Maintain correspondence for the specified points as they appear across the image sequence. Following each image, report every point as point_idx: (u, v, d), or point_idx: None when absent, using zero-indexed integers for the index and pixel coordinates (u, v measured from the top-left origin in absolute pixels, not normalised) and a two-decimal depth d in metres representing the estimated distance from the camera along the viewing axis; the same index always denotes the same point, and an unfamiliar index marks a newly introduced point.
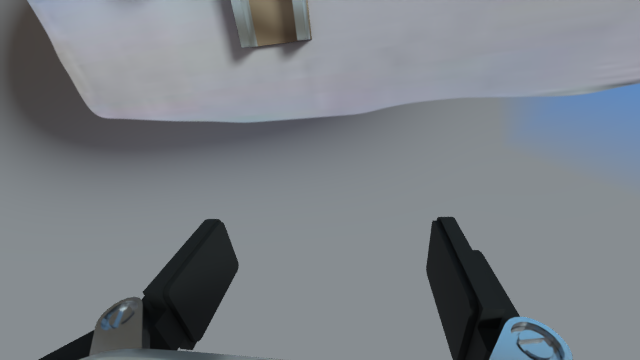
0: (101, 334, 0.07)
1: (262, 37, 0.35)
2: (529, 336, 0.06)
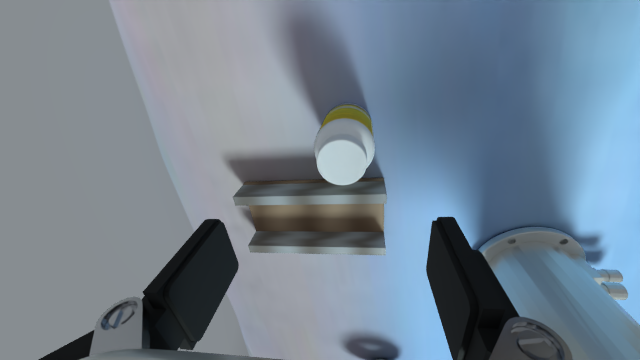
0: (101, 334, 0.07)
1: None
2: (529, 336, 0.06)
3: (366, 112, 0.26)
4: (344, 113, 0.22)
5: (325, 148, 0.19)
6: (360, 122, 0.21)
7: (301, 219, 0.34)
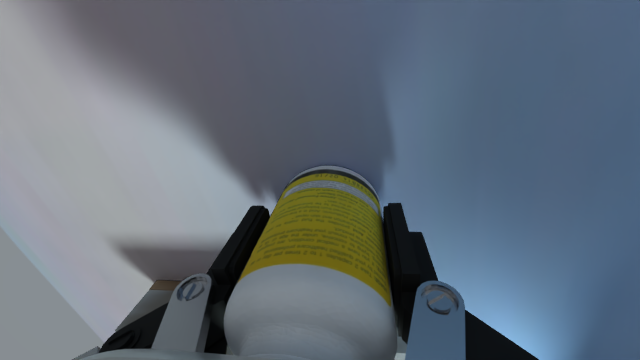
0: (180, 304, 0.08)
1: None
2: (434, 295, 0.07)
3: (369, 189, 0.12)
4: (311, 224, 0.08)
5: None
6: (354, 275, 0.07)
7: None
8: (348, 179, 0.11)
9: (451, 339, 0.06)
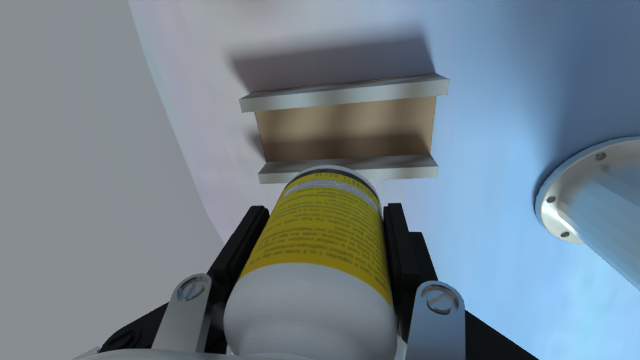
0: (180, 304, 0.08)
1: (264, 113, 0.26)
2: (434, 295, 0.07)
3: (369, 188, 0.11)
4: (311, 222, 0.08)
5: None
6: (354, 274, 0.07)
7: (324, 141, 0.27)
8: (348, 178, 0.11)
9: (451, 339, 0.06)
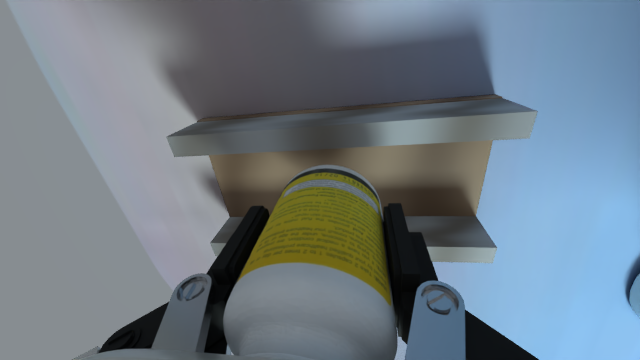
0: (180, 304, 0.08)
1: None
2: (434, 295, 0.07)
3: (369, 188, 0.11)
4: (311, 222, 0.08)
5: None
6: (354, 274, 0.07)
7: None
8: (348, 178, 0.11)
9: (451, 339, 0.06)
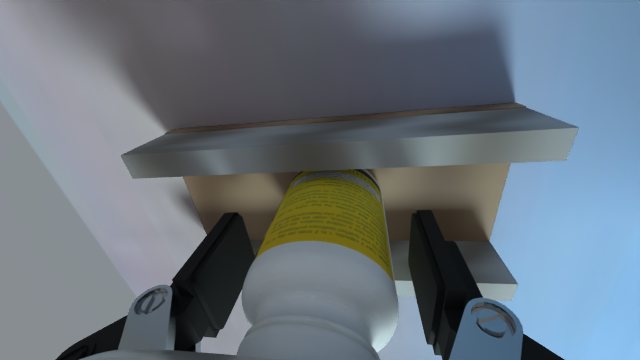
0: (136, 318, 0.07)
1: None
2: (486, 315, 0.06)
3: (372, 180, 0.12)
4: (320, 208, 0.09)
5: None
6: (361, 251, 0.08)
7: None
8: (352, 170, 0.12)
9: None
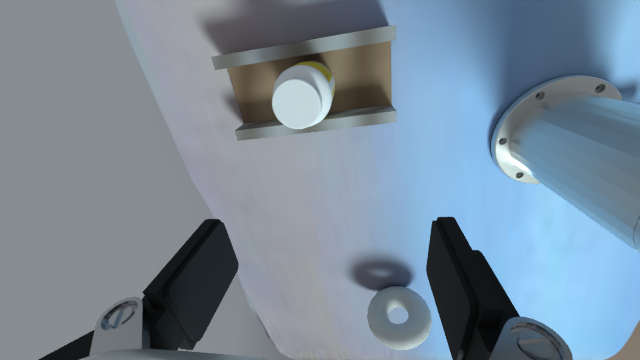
0: (101, 334, 0.07)
1: (238, 74, 0.28)
2: (529, 336, 0.06)
3: (327, 67, 0.26)
4: (301, 63, 0.23)
5: (278, 90, 0.19)
6: (315, 68, 0.21)
7: None
8: (317, 62, 0.26)
9: None
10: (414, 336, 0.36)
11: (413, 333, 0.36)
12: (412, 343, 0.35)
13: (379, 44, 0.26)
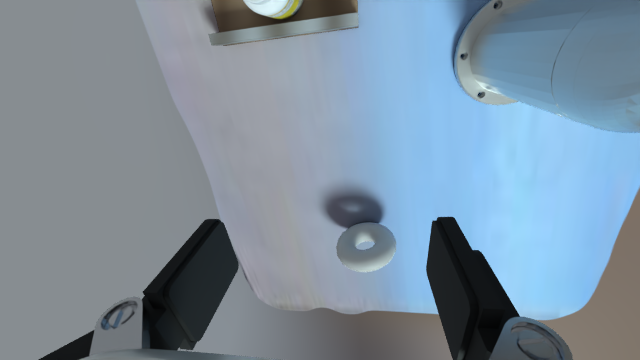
0: (101, 334, 0.07)
1: None
2: (529, 336, 0.06)
3: None
4: None
5: None
6: None
7: None
8: None
9: None
10: (376, 257, 0.37)
11: (376, 255, 0.37)
12: (374, 264, 0.37)
13: None
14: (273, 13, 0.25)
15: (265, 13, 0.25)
